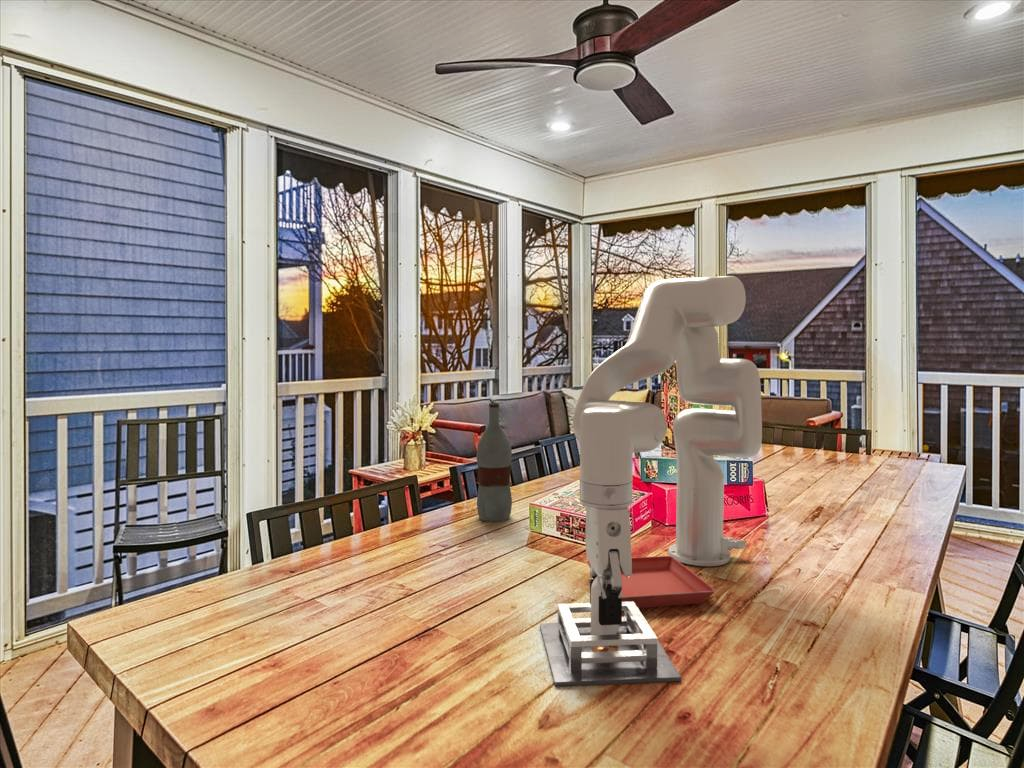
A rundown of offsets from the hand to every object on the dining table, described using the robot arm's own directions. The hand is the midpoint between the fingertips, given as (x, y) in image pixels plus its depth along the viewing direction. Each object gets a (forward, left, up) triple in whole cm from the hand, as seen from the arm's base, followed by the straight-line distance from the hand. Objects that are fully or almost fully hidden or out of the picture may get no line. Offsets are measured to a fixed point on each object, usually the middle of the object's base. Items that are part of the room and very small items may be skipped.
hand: (605, 613), depth 89 cm
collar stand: (0, 0, -6) cm, 6 cm away
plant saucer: (-13, -22, -6) cm, 26 cm away
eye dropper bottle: (0, 0, -3) cm, 3 cm away
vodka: (+13, -71, -6) cm, 72 cm away
